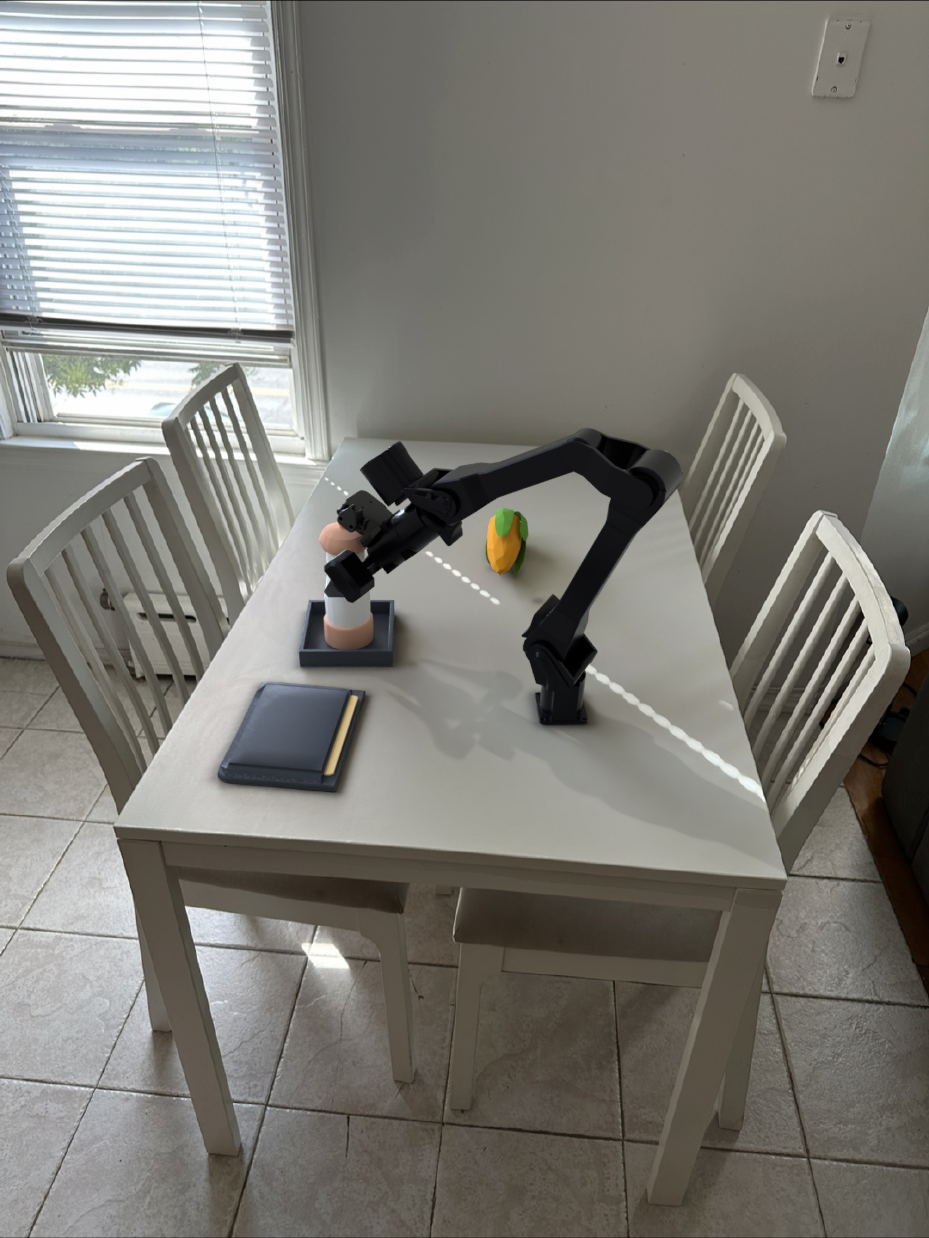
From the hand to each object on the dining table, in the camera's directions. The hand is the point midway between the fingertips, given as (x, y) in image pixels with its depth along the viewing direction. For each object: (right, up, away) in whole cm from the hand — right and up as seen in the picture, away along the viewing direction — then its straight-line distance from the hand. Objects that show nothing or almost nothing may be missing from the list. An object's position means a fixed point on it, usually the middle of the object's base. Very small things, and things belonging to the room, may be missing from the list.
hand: (345, 580), depth 133 cm
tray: (0, -9, +5) cm, 10 cm away
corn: (+24, +4, +27) cm, 37 cm away
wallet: (-5, -21, -14) cm, 25 cm away
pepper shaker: (0, -9, +5) cm, 10 cm away
